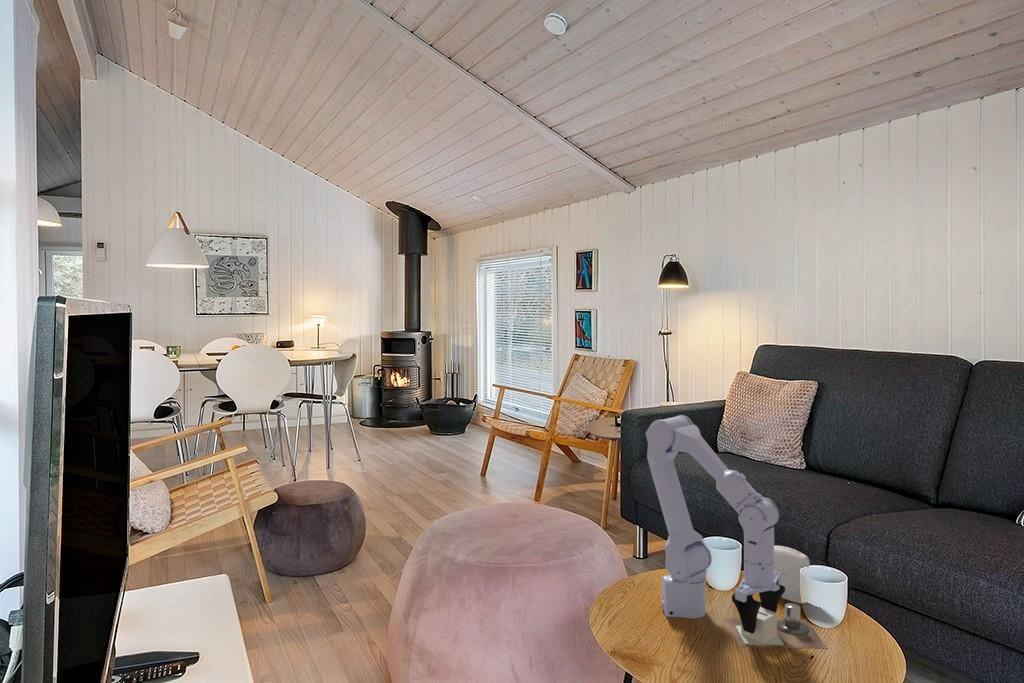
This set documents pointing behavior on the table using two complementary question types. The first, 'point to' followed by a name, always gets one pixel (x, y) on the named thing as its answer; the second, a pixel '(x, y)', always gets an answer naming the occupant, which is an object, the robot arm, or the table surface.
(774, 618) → the slotted tissue box
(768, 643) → the mat
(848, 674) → the table surface
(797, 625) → the post
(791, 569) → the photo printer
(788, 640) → the board
